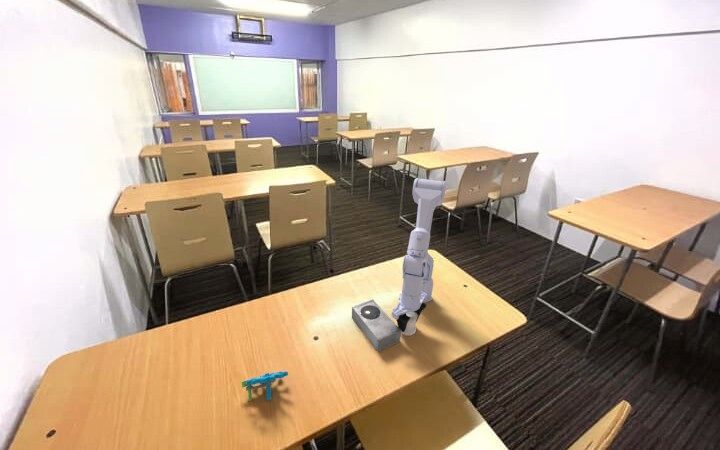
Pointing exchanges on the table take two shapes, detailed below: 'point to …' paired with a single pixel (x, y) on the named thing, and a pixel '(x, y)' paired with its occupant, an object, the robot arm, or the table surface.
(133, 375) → the table surface
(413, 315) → the white cabinet knob
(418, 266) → the robot arm
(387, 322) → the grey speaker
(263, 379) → the blue legged part
